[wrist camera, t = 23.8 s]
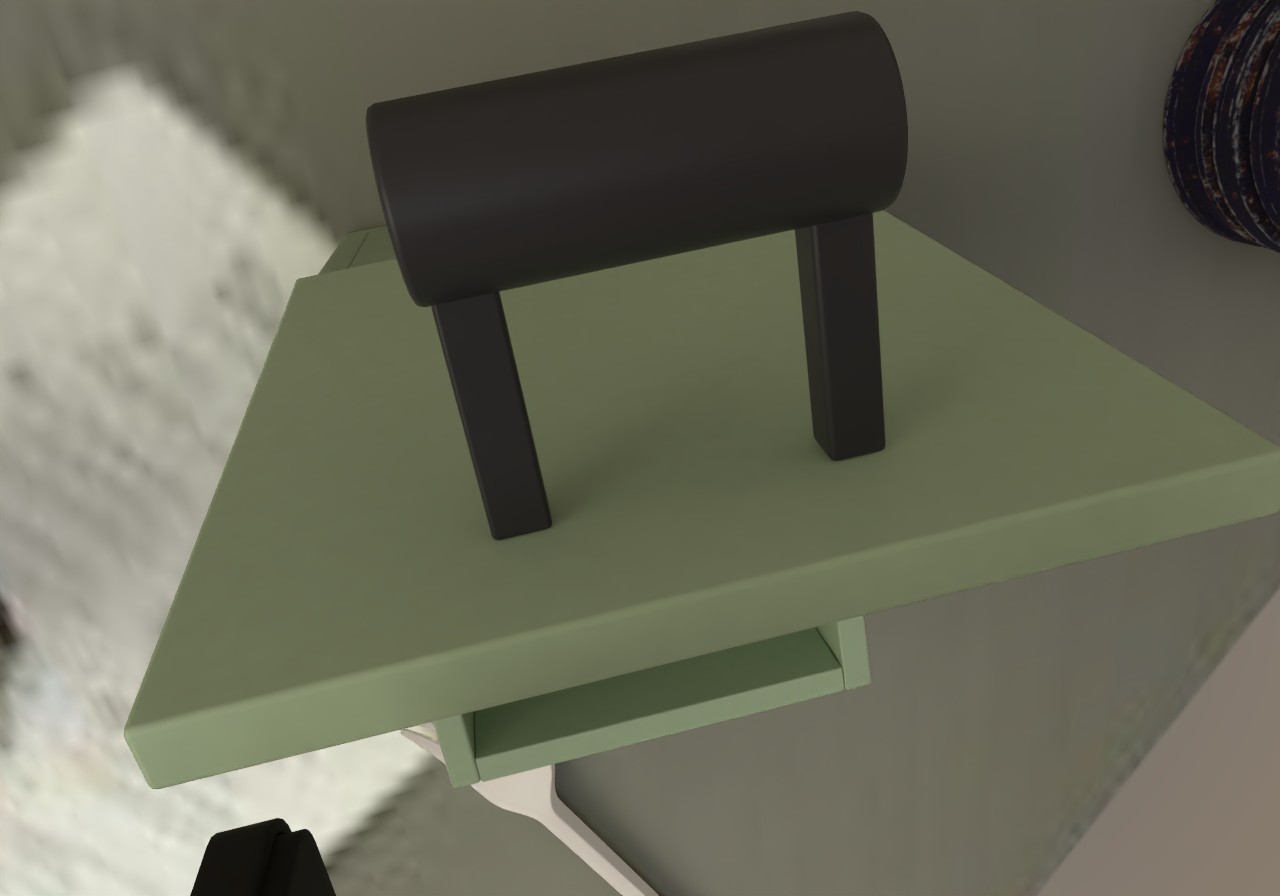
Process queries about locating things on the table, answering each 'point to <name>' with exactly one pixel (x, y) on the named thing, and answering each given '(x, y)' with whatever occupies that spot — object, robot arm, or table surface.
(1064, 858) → the table surface
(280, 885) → the robot arm
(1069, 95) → the table surface
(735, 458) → the box lid
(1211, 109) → the dark blue disc stack
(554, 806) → the fork
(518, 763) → the olive green lidded box
